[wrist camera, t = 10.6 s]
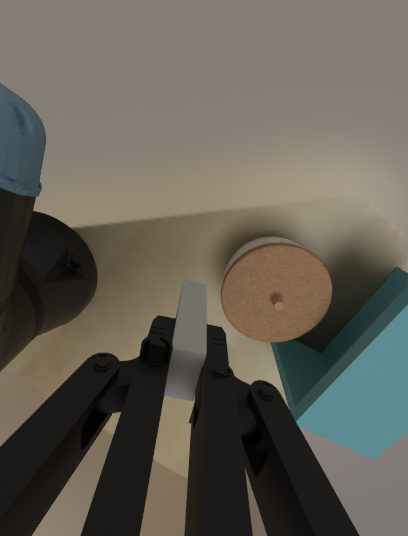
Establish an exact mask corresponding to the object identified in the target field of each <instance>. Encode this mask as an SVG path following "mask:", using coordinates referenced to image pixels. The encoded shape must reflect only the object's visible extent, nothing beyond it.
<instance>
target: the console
mask: <svg viewBox="0 0 408 536" xmlns="http://www.w3.org/2000/svg"><path fill="white" fill-rule="evenodd" d="M271 346H272V349H273V353H274V356H275V360H276V363H277V367H278V371H279V374H280V378H281V381H282V385H283V388H284V392H285V395H286V399H287V402H288V406H289V410H290V412H291V414H292V416H293V417H294V419H295V421H296V423H297V425H298V426H299V427H302V428H304V429H306V430H308V431H311V432H313V433H315V434H317V435H320V436H322V437H324V438H326V439H329V440H331V441H333V442H335V443H337V444H340V445H342V446H344V447H346V448H349V449H351V450H353V451H355V452H358V453H360V454H362V455H364V456H367V457H369V458H371V459H373V460H374V459H376V458H377V457H378V456H379V455H380V454H382V453H383V452H384V451H385V450H387V449H388V448H389V447H390V446H391V445H393V444H394V443H395V442H396V441H397V440H399V439H400V438H401V437H402V436H404V435H405V434H406V433H407V432H408V273H406V272H405V271H403V270H401V269H400V268H398V267H397V268H396V269H395V270H394V271H393V272H392V274H391V275H390V276H389V277H388V278H387V279H386V280H385V282H384V283H383V284H382V285H381V286H380V287H379V288H378V289H377V291H376V292H375V293H374V294H373V295H372V296H371V297H370V299H369V300H368V301H367V302H366V303H365V304H364V305H363V306H362V308H361V309H360V310H359V311H358V312H357V313H356V314H355V316H354V317H353V318H352V319H351V320H350V321H349V322H348V323H347V325H346V326H345V327H344V328H343V329H342V330H341V331H340V333H339V334H338V335H337V336H336V337H335V338H334V339H333V340H332V342H331V343H330V344H329V345H328V346H327V347H326V348H325V350H324V351H323V352H322V353H319V352H317V351H315V350H313V349H311V348H309V347H307V346H305V345H303V344H301V343H299V342H297V341H295V340H293V339H292V340H288V341H284V342H271Z"/></svg>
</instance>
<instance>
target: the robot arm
mask: <svg viewBox="0 0 408 536" xmlns="http://www.w3.org/2000/svg"><path fill="white" fill-rule="evenodd" d="M45 145H46V135H45V129H44V126H43V123H42V121H41V119H40V118H39V116H38V115H37V113H36V112H35V111H34V109H33V108H32V107H31V106H30V105H29V104H28V103H27V102H26V101H24V100H23V99H22V98H21V97H19V96H18V95H17V94H15V93H14V92H12V91H11V90H9V89H8V88H6V87H5V86H3V85H2V84H0V371H1V370H2V369H3V368H4V367H5V366H6V365H7V364H8V363H9V362H10V361H11V360H13V359H14V358H15V357H16V356H17V355H18V354H19V353H20V352H21V351H22V350H23V349H24V348H25V347H26V346H27V345H28V344H29V343H30V342H31V341H32V340H33V339H34V338H35V337H36V336H38V335H41V334H43V333H45V332H48V331H50V330H52V329H54V328H56V327H59V326H61V325H63V324H66V323H68V322H70V321H71V320H73V319H74V318H75V317H77V316H78V315H79V314H80V313H81V312H82V311H83V309H84V308H85V307H86V306H87V305H88V304H89V302H90V301H91V299H92V298H93V295H94V293H95V290H96V285H97V272H96V267H95V263H94V260H93V257H92V255H91V253H90V251H89V249H88V247H87V246H86V244H85V243H84V242H83V240H82V239H81V238H80V237H79V236H78V235H77V234H76V233H75V232H74V231H73V230H72V229H71V228H70V227H68V226H67V225H66V224H64V223H63V222H61V221H59V220H58V219H56V218H54V217H52V216H49V215H47V214H44V213H40V212H36V211H33V207H34V203H35V199H36V197H37V196H39V193H40V192H41V190H42V186H41V183H40V181H39V180H40V174H41V168H42V162H43V156H44V151H45ZM164 396H169V397H174V398H180V399H186V400H192V401H193V400H194V396H195V403H194V407H193V410H192V413H191V417H190V420H189V423H191V438H190V454H189V471H188V488H187V503H186V504H187V505H186V519H185V535H184V536H253V534H252V526H251V517H250V509H249V500H248V491H247V483H246V474H245V469H246V472H247V475H248V478H249V481H250V484H251V487H252V490H253V493H254V496H255V499H256V502H257V505H258V508H259V511H260V515H261V517H262V521H263V524H264V527H265V530H266V533H267V536H359V534H358V533H357V530H356V529H355V527H354V525H353V523H352V522H351V520H350V518H349V516H348V514H347V513H346V511H345V509H344V507H343V505H342V504H341V502H340V500H339V498H338V496H337V495H336V493H335V491H334V489H333V487H332V486H331V484H330V482H329V480H328V478H327V477H326V475H325V474H324V471H323V470H322V468H321V466H320V464H319V462H318V460H317V459H316V457H315V455H314V453H313V452H312V450H311V448H310V446H309V444H308V443H307V441H306V439H305V437H304V435H303V434H302V432H301V430H300V428H299V426H298V425H297V423H296V421H295V419H294V417H293V416H292V414H291V412H290V410H289V408H288V407H287V405H286V403H285V401H284V399H283V398H282V396H281V394H280V392H279V391H278V390H277V388H276V387H274V386H273V385H272V384H271V383H268V382H266V381H261V380H258V381H254V382H253V383H252V384H251V385H249V384H247V383H245V382H243V381H241V380H239V379H238V378H236V377H235V376H234V373H233V371H232V369H231V368H230V367H229V362H228V352H227V342H226V333H225V332H224V330H223V329H222V327H218V326H213V325H208V324H207V285H205V284H200V283H195V282H190V281H185V280H184V282H183V287H182V291H181V296H180V301H179V305H178V310H177V314H176V319H174V318H169V317H164V316H159V315H158V316H157V317H156V318H155V319H154V320H153V322H152V325H151V328H150V331H149V334H148V337H146V338H144V340H143V341H142V344H141V350H140V356H139V357H137V358H135V359H133V360H128V361H119V360H118V358H117V357H116V356H114V355H113V354H110V353H98V354H95V355H92V356H91V357H89V358H88V359H87V360H86V361H85V362H84V363H83V364H82V365H81V366H80V367H79V368H78V369H77V370H76V371H75V372H74V373H73V374H72V375H71V376H70V377H69V378H68V379H67V380H66V381H65V382H64V383H63V384H62V385H61V386H60V387H59V388H58V389H57V390H56V391H55V392H54V393H53V394H52V395H51V396H50V397H49V398H48V399H47V400H46V401H45V402H44V403H43V404H42V405H41V406H40V407H39V408H38V409H37V410H36V411H35V412H34V413H33V414H32V416H30V418H28V419H27V420H26V421H25V422H24V423H23V424H22V425H21V426H20V427H19V429H18V430H17V431H15V433H13V435H11V437H10V438H9V439H8V440H6V442H5V443H4V444H3V445H2V446H1V447H0V536H32V534H33V533H34V531H35V530H36V528H37V527H38V525H39V524H40V522H41V520H42V519H43V517H44V516H45V515H46V513H47V512H48V510H49V509H50V507H51V505H52V504H53V503H54V501H55V499H56V498H57V497H58V495H59V494H60V492H61V491H62V489H63V488H64V486H65V485H66V483H67V481H68V480H69V478H70V477H71V476H72V474H73V473H74V471H75V470H76V468H77V467H78V465H79V464H80V462H81V461H82V459H83V458H84V456H85V455H86V453H87V451H88V450H89V449H90V447H91V446H92V444H93V443H94V441H95V440H96V438H97V437H98V435H99V434H100V432H101V431H102V429H103V428H104V426H105V425H106V423H107V422H108V420H109V419H110V417H111V416H112V413H117V412H121V414H120V418H119V421H118V424H117V427H116V430H115V433H114V436H113V439H112V442H111V445H110V448H109V451H108V454H107V457H106V460H105V463H104V466H103V469H102V472H101V475H100V478H99V481H98V484H97V487H96V491H95V493H94V497H93V500H92V503H91V506H90V509H89V512H88V515H87V518H86V521H85V524H84V527H83V530H82V533H81V536H139V535H140V530H141V523H142V518H143V513H144V507H145V501H146V496H147V490H148V484H149V478H150V473H151V467H152V461H153V456H154V450H155V444H156V438H157V433H158V427H159V421H160V416H161V410H162V404H163V398H164Z"/></svg>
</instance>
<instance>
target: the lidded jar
mask: <svg viewBox="0 0 408 536" xmlns="http://www.w3.org/2000/svg"><path fill="white" fill-rule="evenodd" d="M331 298H332V282H331V278H330V275H329V273H328V270H327V269H326V267H325V266H324V264H323V263H322V262H321V261H320V260H319V259H318V258H317V257H316V256H315V255H314V254H312V253H311V252H310V251H308V250H307V249H305V248H304V247H303V246H301V245H300V244H298V243H296V242H294V241H292V240H289V239H285V238H281V237H262V238H258V239H255V240H252V241H250V242H248V243H246V244H245V245H243V246H242V247H240V248H239V249H238V250H237V251H236V252H235V253H234V255H233V256H232V257H231V259H230V260H229V262H228V264H227V266H226V269H225V272H224V275H223V281H222V288H221V303H222V308H223V311H224V314H225V316H226V318H227V319H228V321H229V322H230V323H231V325H232V326H233V327H234V328H235V329H236V330H238V331H239V332H240V333H242V334H243V335H245V336H247V337H249V338H252V339H254V340H258V341H263V342H284V341H288V340H292V339H295V338H297V337H300V336H302V335H304V334H305V333H307V332H309V331H310V330H311V329H313V328H314V327H315V326H316V325H317V324H318V323H319V322H320V321H321V319H322V318H323V317H324V316H325V314H326V312H327V310H328V308H329V305H330V302H331Z"/></svg>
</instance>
